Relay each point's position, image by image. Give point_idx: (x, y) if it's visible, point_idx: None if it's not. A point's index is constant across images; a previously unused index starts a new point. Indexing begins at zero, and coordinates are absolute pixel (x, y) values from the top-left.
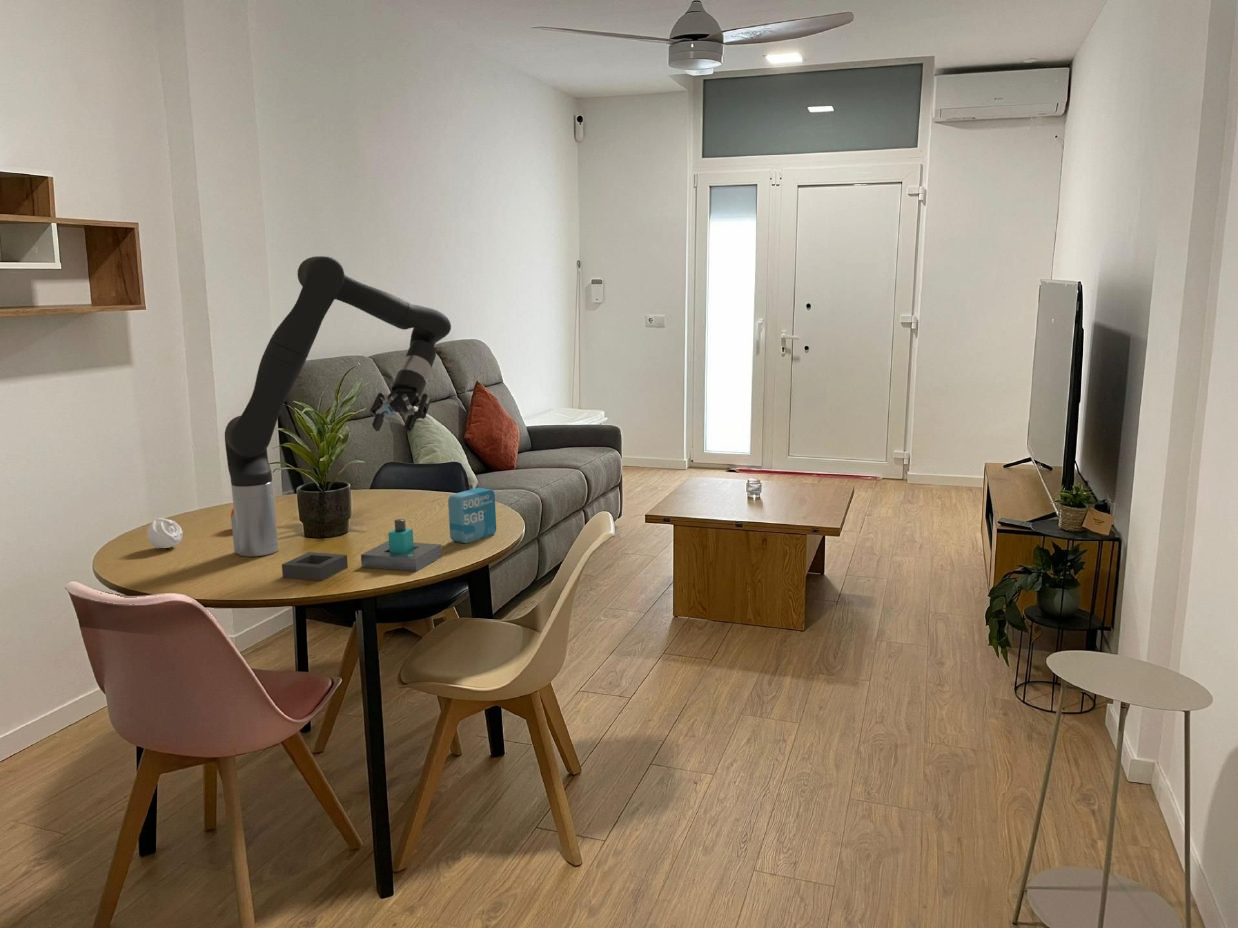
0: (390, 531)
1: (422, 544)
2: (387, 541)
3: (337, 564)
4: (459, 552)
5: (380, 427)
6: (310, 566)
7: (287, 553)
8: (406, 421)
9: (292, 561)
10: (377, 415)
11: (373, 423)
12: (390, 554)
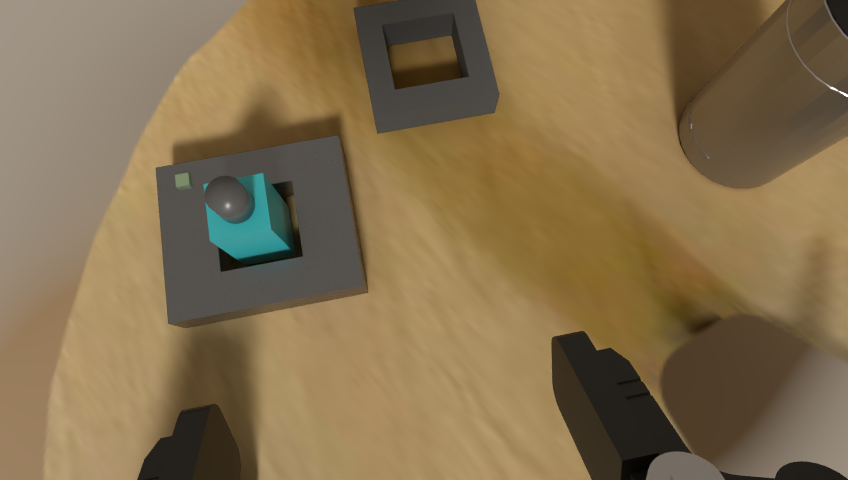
0: (264, 186)
1: (227, 297)
2: (361, 276)
3: (367, 81)
4: (158, 392)
5: (570, 432)
6: (386, 5)
7: (644, 160)
8: (186, 463)
9: (467, 16)
10: (644, 437)
11: (616, 365)
12: (254, 170)
